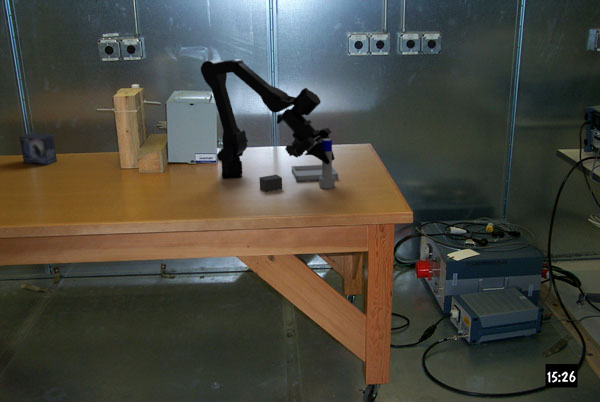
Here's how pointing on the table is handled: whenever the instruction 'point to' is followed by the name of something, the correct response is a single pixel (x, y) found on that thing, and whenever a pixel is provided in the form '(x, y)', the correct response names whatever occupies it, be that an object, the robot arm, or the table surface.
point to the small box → (38, 149)
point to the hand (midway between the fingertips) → (331, 161)
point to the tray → (310, 172)
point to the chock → (270, 183)
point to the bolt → (327, 167)
